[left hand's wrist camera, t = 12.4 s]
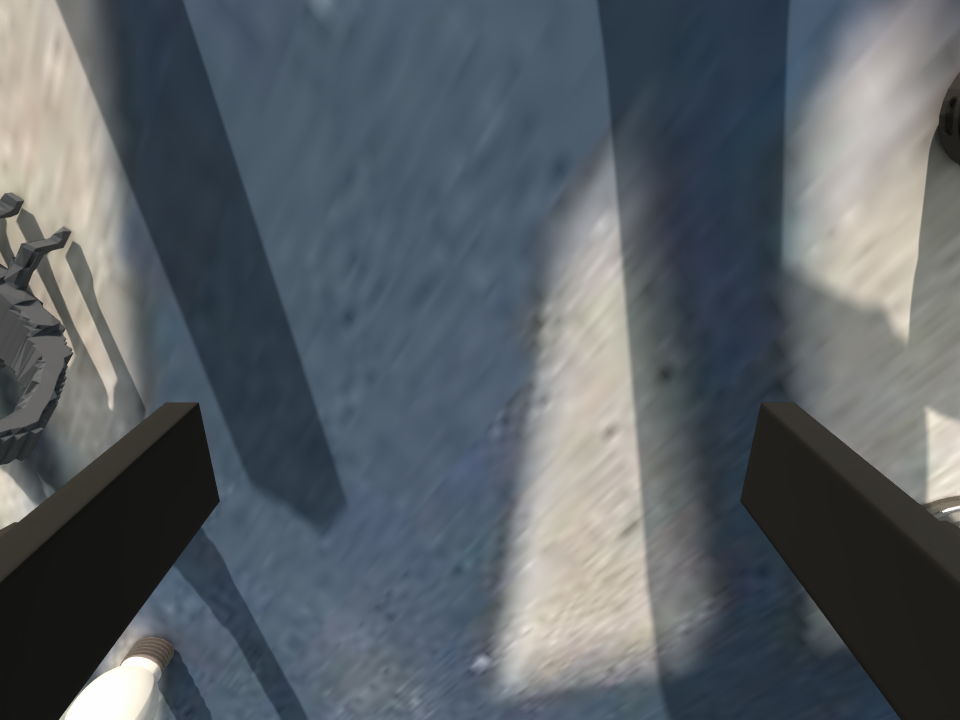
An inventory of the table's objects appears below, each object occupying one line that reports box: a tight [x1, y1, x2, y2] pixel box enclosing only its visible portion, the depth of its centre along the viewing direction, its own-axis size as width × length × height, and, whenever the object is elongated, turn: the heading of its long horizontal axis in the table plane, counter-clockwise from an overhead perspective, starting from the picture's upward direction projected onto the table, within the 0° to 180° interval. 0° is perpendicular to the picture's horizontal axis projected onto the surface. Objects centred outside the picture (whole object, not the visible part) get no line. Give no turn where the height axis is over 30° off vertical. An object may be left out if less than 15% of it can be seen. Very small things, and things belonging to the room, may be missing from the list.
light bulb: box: [65, 637, 174, 720], centre depth 49 cm, size 7×7×11 cm
